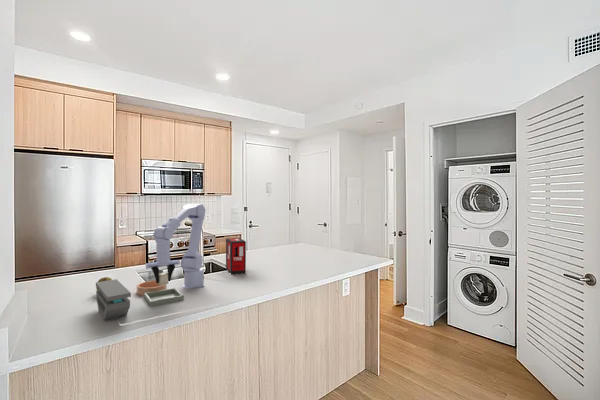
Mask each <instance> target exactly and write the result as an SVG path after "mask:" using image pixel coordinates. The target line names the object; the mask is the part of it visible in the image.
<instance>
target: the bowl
mask: <svg viewBox="0 0 600 400" xmlns="http://www.w3.org/2000/svg"><path fill="white" fill-rule="evenodd" d="M167 286H168V284H165V285H159V284H158V283H156V280H148V281H143V282H141V283H140V282H139V283H138V284H137V285H136V294H137V295H138V296H143V297H144V293H148V292H154V291H160V290H166V289H168V288H167Z"/></svg>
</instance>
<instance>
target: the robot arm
mask: <svg viewBox="0 0 600 400" xmlns="http://www.w3.org/2000/svg"><path fill="white" fill-rule="evenodd" d="M205 214H206V208H205V206H204V204H202V203H185V204H184V205H183V206H182V209H181V210H180V212H179V213H177V215H176V216H175V217H173V216H172V217H169V218H168V220H167V221H166V222H164V223H163V224H162V225H161V226H157V228H155V229H154V230H153V231H154V232H153V237H154V240H155V241H154V242H155V244H156V253H155V254H156V258H155V259H156V261H153V262H149V263H145V269H147V270H148V269H150V270H152V274H153V275H154V277H155V281H156V283H159V274H160V269H159V267H160V268H161V267H166V268H167V273H168V282H171V279H172V275H173V273H174V271H175V269H176V266H177V265H178V266H179V265H180V267H181V269H182V270H183V273H184V275H183V279H184V281H183V284H181V286H182V287H183V288H185V290H188V289H193V288H199V287H200V288H203V287H205V285H204V284H205V283H204V281H205V279H204V278H205V277H204V270H203V268H202V267H203V255H202V254H201V253H200V252H199V250H200V249H199V248H200V242H201V236H202V229H203V224H204V220H205ZM187 218H188V219H189V220H190V221H191V230H190V237H189V241H188V248H187V251H186V252H184V253H183V254H182V259H173V260H171V239H172V238H173V235H174V233H175V232H176V230H177V229H178V228H179V227H180V226H181V223H182V222H183V221H184V220H185V219H187Z"/></svg>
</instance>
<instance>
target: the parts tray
mask: <svg viewBox="0 0 600 400" xmlns="http://www.w3.org/2000/svg"><path fill="white" fill-rule="evenodd" d="M184 297H185V296H184V294H183V293H182V292H181V291H179V290H178V289H177V288H176V287H172V288H167V289H166V290H160V291H154V292H148V293H144V296H143V298H144V299H145V301H146V303H148V305H149V306H150V307H154V306H160V305H164V304H165V305H166V304H170V303H176V302H178V301H179V302H180V301H184V300H185V298H184Z"/></svg>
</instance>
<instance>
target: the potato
mask: <svg viewBox="0 0 600 400" xmlns="http://www.w3.org/2000/svg"><path fill="white" fill-rule="evenodd" d="M108 280H113V279H112V278H111V277H108V276H104V277H102V278H100V279H98V280H97V282H102V281H108ZM95 287H96V286H95ZM97 290H98V288H97V287H96V291H97Z"/></svg>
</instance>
